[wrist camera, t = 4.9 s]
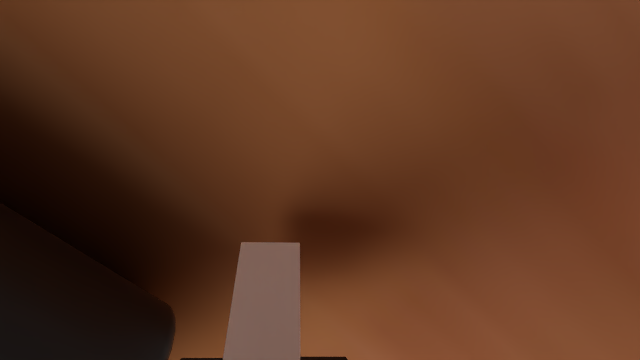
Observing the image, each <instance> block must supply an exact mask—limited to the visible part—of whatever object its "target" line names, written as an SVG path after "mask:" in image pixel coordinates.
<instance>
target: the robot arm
mask: <svg viewBox="0 0 640 360" xmlns="http://www.w3.org/2000/svg"><path fill="white" fill-rule="evenodd" d="M180 360H347V358H346V357H300V243H285V242H241V247H240V253H239V259H238V266H237V272H236V279H235V285H234V291H233V298H232V304H231V310H230V317H229V323H228V329H227V336H226V342H225V349H224V355H223V358H181V359H180Z"/></svg>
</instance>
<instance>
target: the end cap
mask: <svg viewBox="0 0 640 360" xmlns="http://www.w3.org/2000/svg"><path fill="white" fill-rule="evenodd" d="M174 335H175V316H174V313H173V310H172V309H171V307H170V306H169V305H168V304H166V303H164V302H163V301H161V300H159V299H158V298H156V297H154V296H153V295H151V294H149V293H148V292H146V291H145V290H143V289H141V288H140V287H138V286H136V285H135V284H133V283H131V282H130V281H128V280H126V279H125V278H123V277H122V276H120V275H118V274H117V273H115V272H113V271H112V270H110V269H108V268H107V267H105V266H103V265H102V264H100V263H99V262H97V261H95V260H94V259H92V258H90V257H89V256H87V255H85V254H84V253H82V252H80V251H79V250H77V249H75V248H74V247H72V246H71V245H69V244H67V243H66V242H64V241H62V240H61V239H59V238H57V237H56V236H54V235H52V234H51V233H49V232H48V231H46V230H44V229H43V228H41V227H39V226H38V225H36V224H34V223H33V222H31V221H29V220H28V219H26V218H25V217H23V216H21V215H20V214H18V213H16V212H15V211H13V210H11V209H10V208H8V207H6V206H5V205H3V204H1V203H0V360H168V358H169V355H170V352H171V349H172V345H173V340H174Z"/></svg>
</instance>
